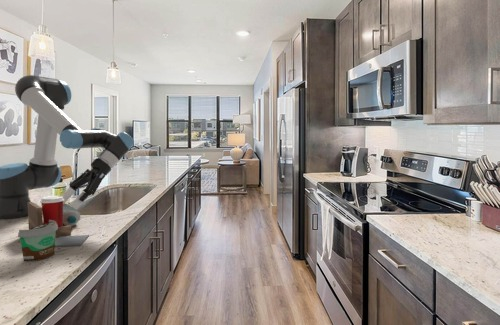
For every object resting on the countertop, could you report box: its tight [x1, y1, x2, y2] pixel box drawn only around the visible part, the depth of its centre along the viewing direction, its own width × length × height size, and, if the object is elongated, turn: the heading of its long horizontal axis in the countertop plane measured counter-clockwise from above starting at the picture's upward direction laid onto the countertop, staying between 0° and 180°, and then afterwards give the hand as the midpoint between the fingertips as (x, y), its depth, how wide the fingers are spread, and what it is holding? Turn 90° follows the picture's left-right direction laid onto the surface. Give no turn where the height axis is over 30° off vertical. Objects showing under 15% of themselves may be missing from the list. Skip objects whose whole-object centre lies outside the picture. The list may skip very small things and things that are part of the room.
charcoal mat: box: [55, 234, 90, 248], centre depth 114 cm, size 10×10×1 cm
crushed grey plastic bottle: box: [63, 202, 81, 227], centre depth 138 cm, size 13×7×25 cm
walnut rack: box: [27, 201, 72, 239], centre depth 121 cm, size 10×13×12 cm
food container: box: [17, 220, 58, 262], centre depth 100 cm, size 12×6×10 cm, turn 170°
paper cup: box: [40, 195, 64, 227], centre depth 122 cm, size 8×8×14 cm
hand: (66, 204), depth 124 cm, fingers open, 13 cm apart
